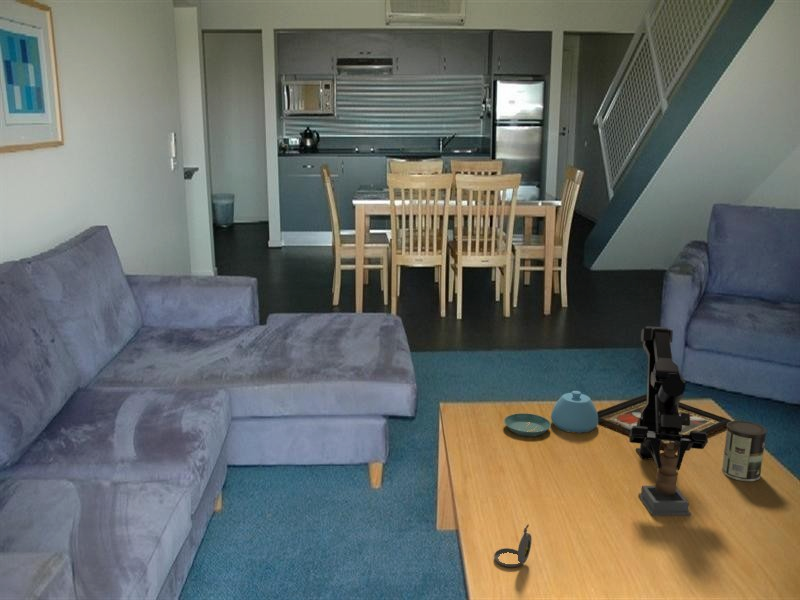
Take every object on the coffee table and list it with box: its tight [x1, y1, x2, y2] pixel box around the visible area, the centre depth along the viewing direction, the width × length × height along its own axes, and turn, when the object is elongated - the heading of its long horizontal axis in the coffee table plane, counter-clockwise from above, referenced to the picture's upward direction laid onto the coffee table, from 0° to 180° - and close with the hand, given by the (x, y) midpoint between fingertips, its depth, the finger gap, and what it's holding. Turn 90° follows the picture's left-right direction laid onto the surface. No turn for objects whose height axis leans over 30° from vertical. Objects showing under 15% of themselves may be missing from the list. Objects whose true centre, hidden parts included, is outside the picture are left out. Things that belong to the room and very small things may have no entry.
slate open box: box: [637, 485, 692, 517], centre depth 201 cm, size 10×10×3 cm
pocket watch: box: [493, 524, 532, 568], centre depth 174 cm, size 8×8×10 cm
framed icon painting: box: [597, 393, 732, 451], centre depth 254 cm, size 38×35×3 cm
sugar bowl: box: [550, 390, 599, 434], centre depth 250 cm, size 15×15×12 cm
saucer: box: [503, 412, 552, 437], centre depth 247 cm, size 15×15×3 cm
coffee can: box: [721, 420, 768, 482], centre depth 218 cm, size 10×10×14 cm
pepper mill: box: [654, 443, 679, 494], centre depth 198 cm, size 5×5×13 cm
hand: (668, 468), depth 197 cm, fingers closed on pepper mill, 4 cm apart
